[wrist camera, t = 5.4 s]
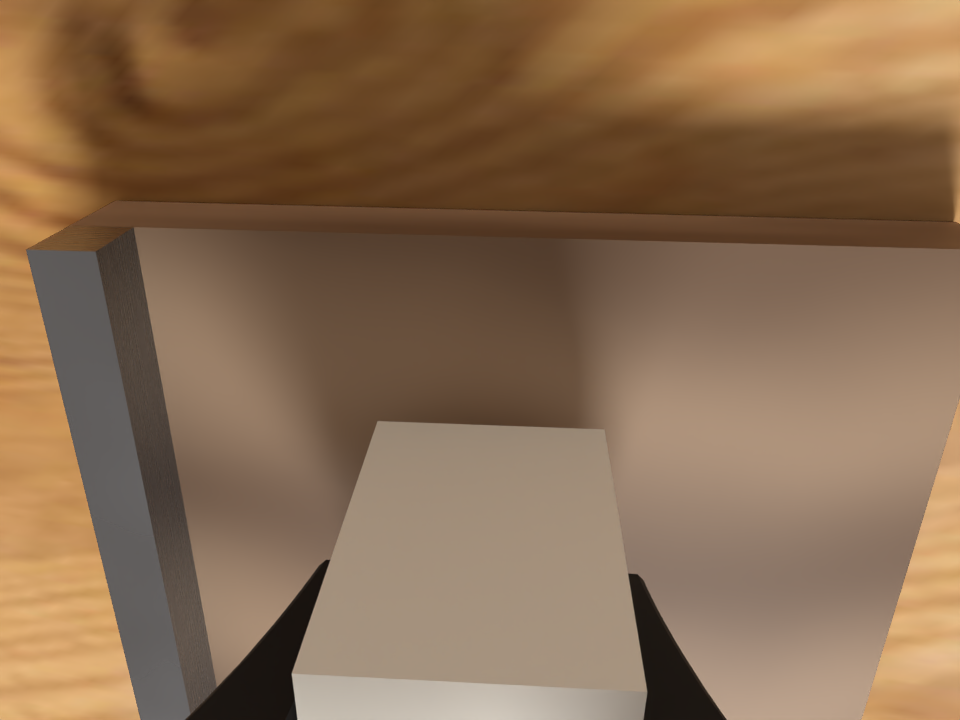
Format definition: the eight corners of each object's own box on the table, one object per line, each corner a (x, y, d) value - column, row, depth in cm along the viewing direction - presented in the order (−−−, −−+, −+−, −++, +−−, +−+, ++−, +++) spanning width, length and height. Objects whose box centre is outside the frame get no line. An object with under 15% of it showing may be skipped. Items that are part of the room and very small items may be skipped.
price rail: (63, 224, 12) (19, 249, 11) (133, 226, 12) (95, 252, 11) (173, 726, 17) (149, 777, 16) (224, 730, 17) (204, 780, 16)
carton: (368, 420, 12) (277, 673, 8) (604, 429, 12) (647, 692, 8) (383, 679, 15) (319, 985, 10) (581, 689, 15) (603, 1005, 10)
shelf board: (114, 200, 14) (70, 225, 12) (955, 221, 13) (1005, 250, 12) (204, 672, 19) (178, 727, 17) (823, 704, 18) (847, 764, 17)
